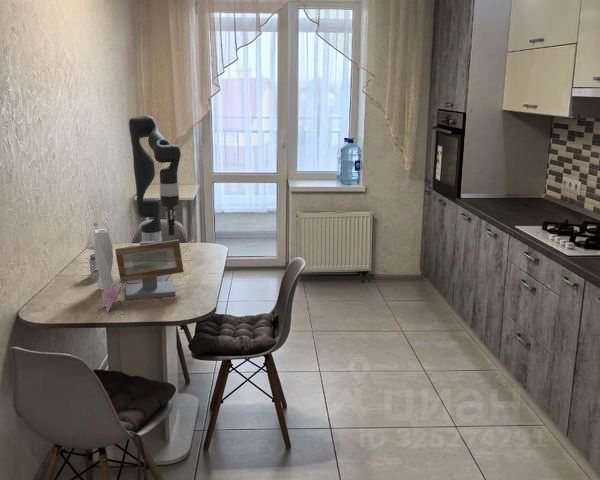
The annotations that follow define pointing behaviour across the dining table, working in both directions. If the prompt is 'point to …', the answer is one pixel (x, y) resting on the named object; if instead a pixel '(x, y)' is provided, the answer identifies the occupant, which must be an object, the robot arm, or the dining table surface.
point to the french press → (93, 262)
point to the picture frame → (149, 260)
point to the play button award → (159, 279)
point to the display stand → (149, 286)
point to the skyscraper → (103, 258)
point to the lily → (111, 296)
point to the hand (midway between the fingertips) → (171, 234)
